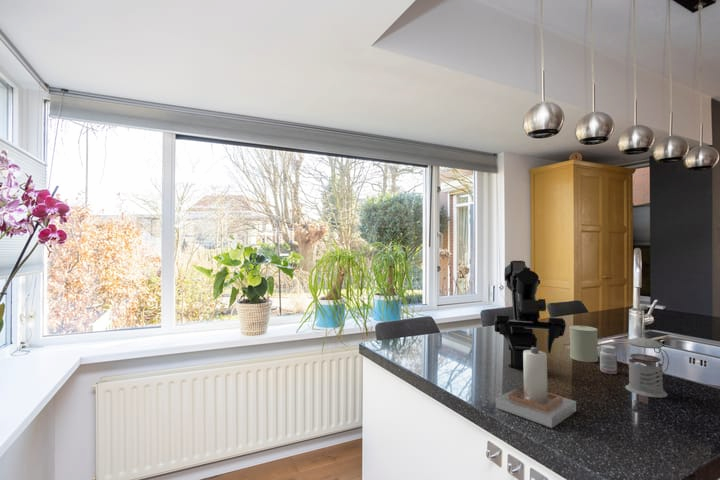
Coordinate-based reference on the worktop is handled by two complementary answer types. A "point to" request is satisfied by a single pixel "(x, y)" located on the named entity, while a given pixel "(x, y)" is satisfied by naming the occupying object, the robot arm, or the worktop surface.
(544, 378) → the white bottle
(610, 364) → the pill bottle
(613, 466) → the worktop surface
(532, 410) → the press bed
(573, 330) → the can
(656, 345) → the french press
